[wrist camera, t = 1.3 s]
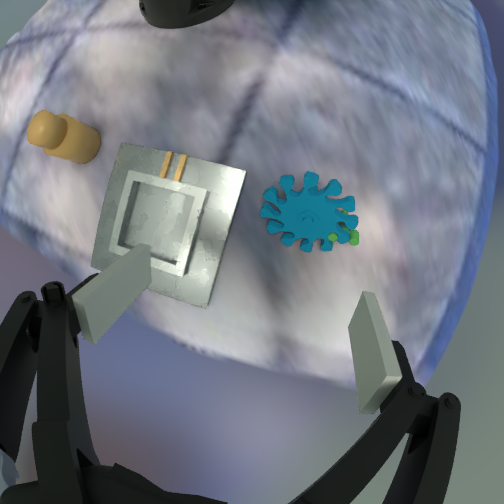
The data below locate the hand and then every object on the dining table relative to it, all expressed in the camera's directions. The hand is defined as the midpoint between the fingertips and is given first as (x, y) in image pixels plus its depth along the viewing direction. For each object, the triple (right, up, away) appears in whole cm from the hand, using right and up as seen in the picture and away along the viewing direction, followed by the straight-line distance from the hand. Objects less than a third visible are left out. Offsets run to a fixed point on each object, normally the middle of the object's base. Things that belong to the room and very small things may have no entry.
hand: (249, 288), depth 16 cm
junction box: (-10, +6, +15) cm, 19 cm away
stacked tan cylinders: (-23, +17, +14) cm, 32 cm away
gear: (+6, +6, +15) cm, 17 cm away
